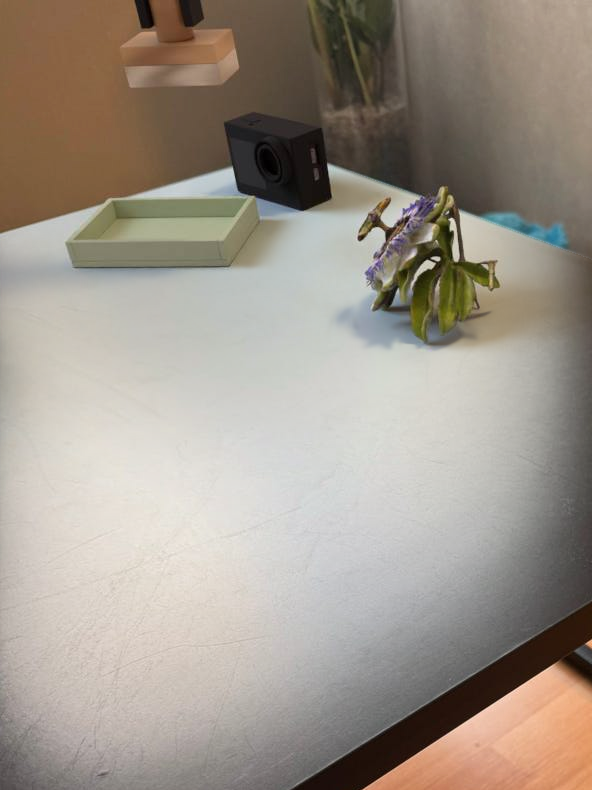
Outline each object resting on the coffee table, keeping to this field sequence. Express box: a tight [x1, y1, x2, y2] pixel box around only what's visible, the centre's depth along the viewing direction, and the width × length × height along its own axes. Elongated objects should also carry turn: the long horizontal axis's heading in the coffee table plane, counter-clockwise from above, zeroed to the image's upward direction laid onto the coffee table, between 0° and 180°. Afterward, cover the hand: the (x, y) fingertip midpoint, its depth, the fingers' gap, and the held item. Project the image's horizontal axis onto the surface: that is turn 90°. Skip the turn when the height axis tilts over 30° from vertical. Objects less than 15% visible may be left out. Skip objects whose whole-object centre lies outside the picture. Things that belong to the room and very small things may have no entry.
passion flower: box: [356, 185, 501, 345], centre depth 82 cm, size 11×11×12 cm
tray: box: [64, 195, 261, 268], centre depth 97 cm, size 15×11×2 cm
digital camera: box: [223, 111, 333, 211], centre depth 104 cm, size 10×5×7 cm, turn 50°
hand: (173, 23), depth 82 cm, fingers closed on brush, 3 cm apart
